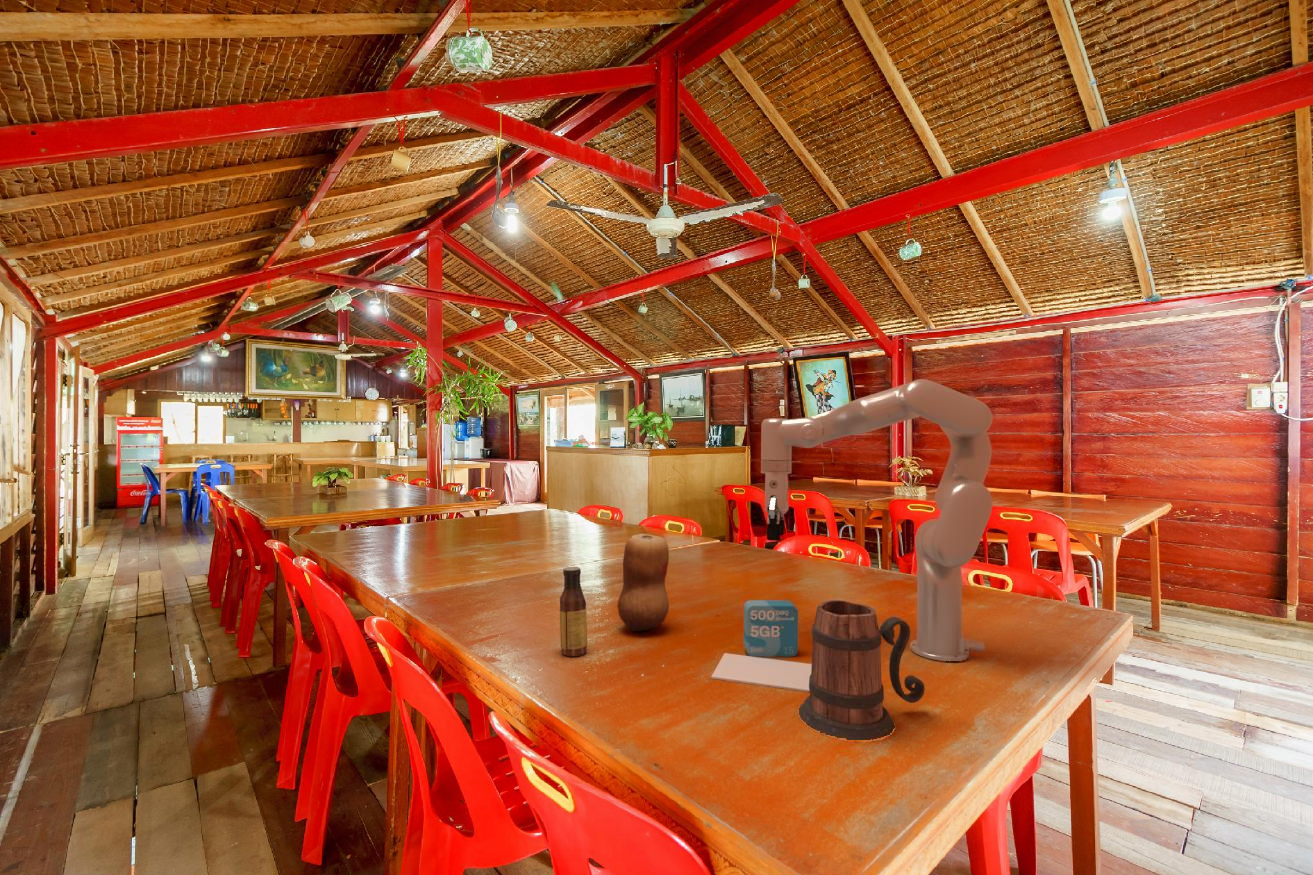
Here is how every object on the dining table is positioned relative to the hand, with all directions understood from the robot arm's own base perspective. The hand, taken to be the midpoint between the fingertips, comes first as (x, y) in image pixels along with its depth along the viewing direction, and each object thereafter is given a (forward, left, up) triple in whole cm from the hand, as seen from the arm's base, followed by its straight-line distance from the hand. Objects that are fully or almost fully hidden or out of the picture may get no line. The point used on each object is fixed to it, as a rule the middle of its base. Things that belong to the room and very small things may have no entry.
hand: (775, 537), depth 143 cm
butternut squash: (+34, +3, -26) cm, 43 cm away
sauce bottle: (+44, +24, -26) cm, 57 cm away
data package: (0, +9, -26) cm, 28 cm away
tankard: (-20, +35, -26) cm, 48 cm away
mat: (0, +20, -26) cm, 33 cm away
